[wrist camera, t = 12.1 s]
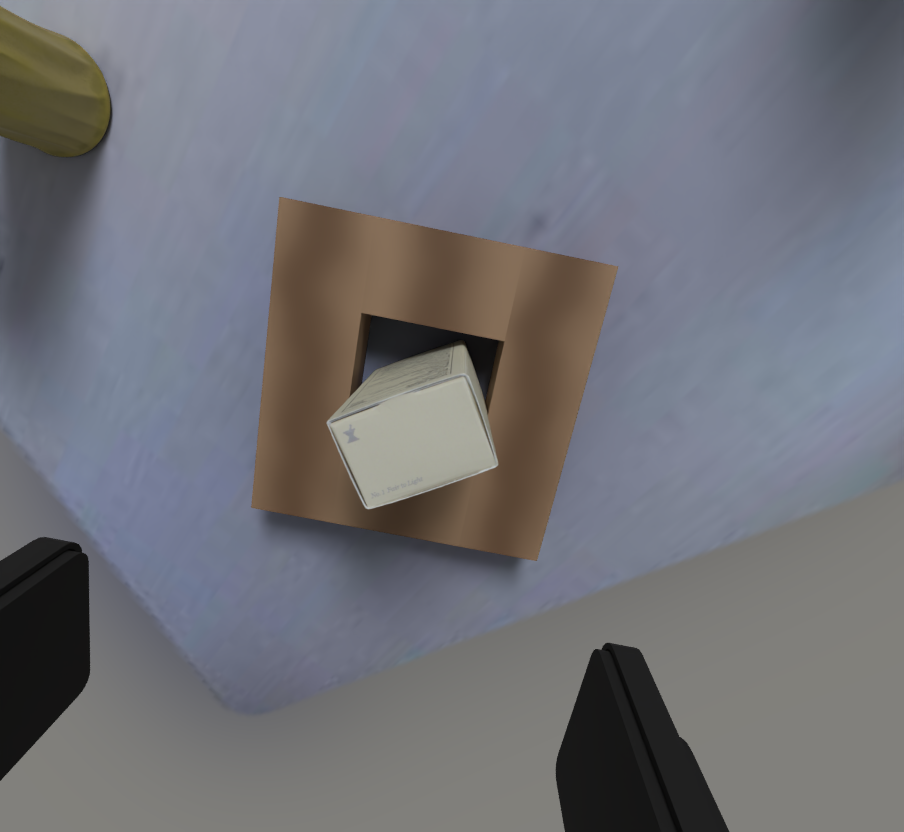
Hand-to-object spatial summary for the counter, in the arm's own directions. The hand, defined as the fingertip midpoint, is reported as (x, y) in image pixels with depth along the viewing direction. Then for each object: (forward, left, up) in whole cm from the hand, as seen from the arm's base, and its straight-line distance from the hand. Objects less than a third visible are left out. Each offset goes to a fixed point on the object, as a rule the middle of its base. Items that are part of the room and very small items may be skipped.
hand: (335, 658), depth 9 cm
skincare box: (0, 0, -24) cm, 24 cm away
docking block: (0, 0, -24) cm, 24 cm away
